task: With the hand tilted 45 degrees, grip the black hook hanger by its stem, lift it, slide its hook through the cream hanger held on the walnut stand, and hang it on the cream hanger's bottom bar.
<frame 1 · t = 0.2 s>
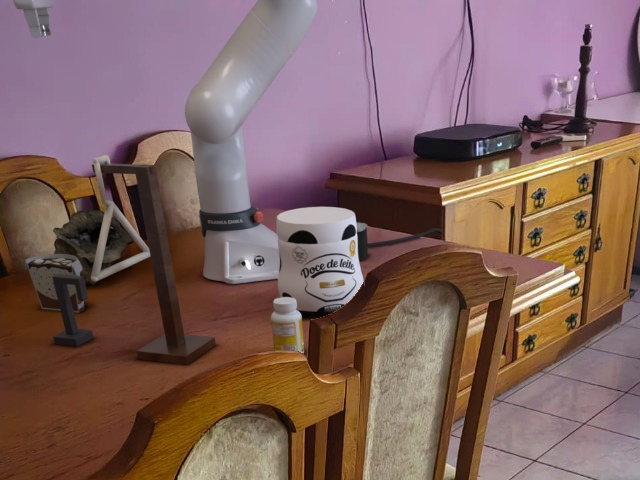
hand: (42, 36, 163), 48 cm above the table, tool pointing down, fingers open, 8 cm apart
milk container: (322, 308, 171), on the table
supplement bottle: (289, 354, 149), on the table
black hanger: (74, 341, 157), on the table
hollow geode rock: (100, 274, 196), on the table
food container: (70, 307, 175), on the table
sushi: (351, 258, 203), on the table
hanger stand: (139, 348, 153), on the table
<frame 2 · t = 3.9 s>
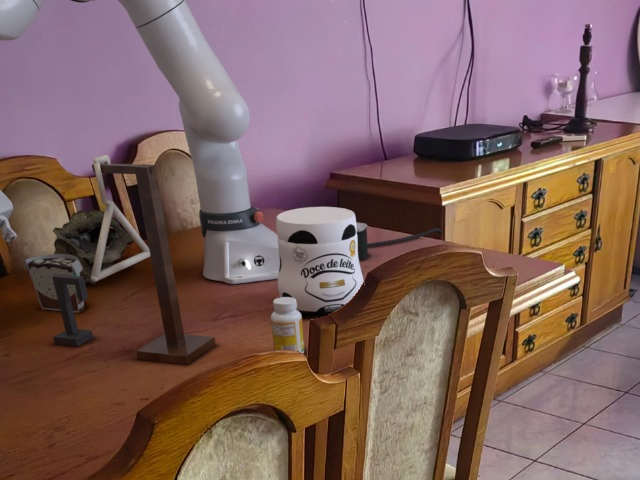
nothing on the table moved.
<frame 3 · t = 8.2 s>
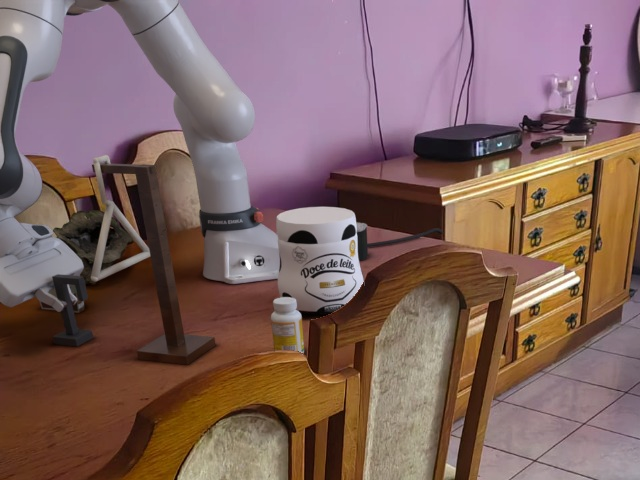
hand: (68, 306, 154), 7 cm above the table, tool tilted 45°, fingers closed on black hanger
black hanger: (74, 341, 157), on the table, touching gripper
everything else where it was.
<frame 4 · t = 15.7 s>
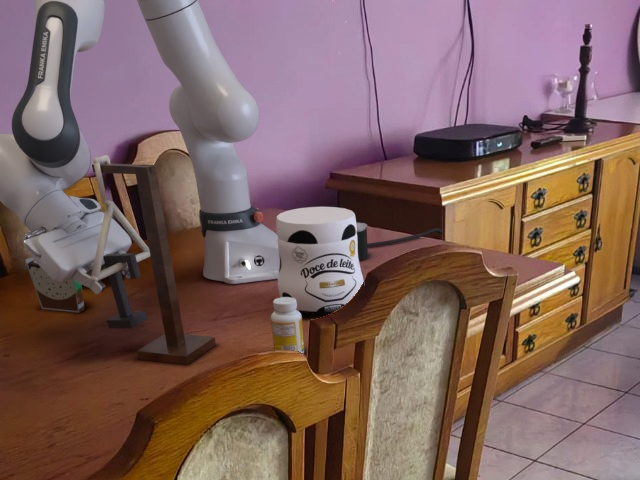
hand: (117, 283, 147), 12 cm above the table, tool tilted 45°, fingers open, 8 cm apart
black hanger: (128, 323, 151), point 4 cm above the table, touching hanger stand
everything else where it was.
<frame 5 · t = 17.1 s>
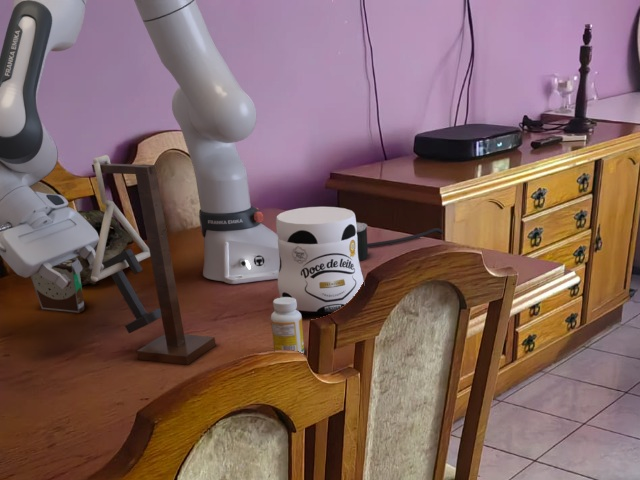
hand: (84, 278, 149), 12 cm above the table, tool tilted 45°, fingers open, 8 cm apart
black hanger: (146, 324, 150), point 5 cm above the table, tilted 25°, touching hanger stand
everything else where it was.
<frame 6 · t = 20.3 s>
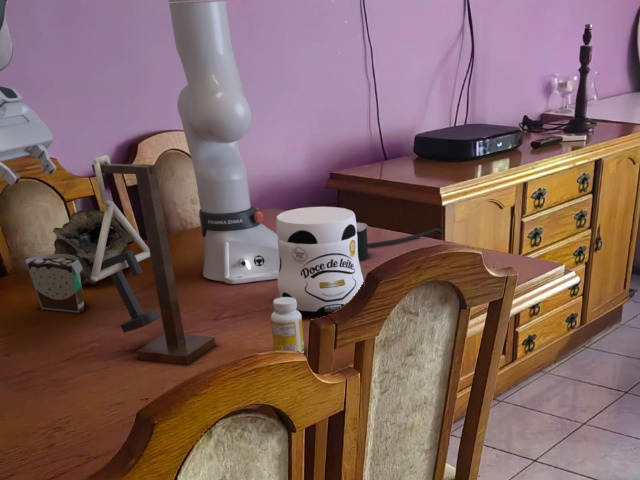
hand: (34, 176, 144), 28 cm above the table, tool tilted 40°, fingers open, 8 cm apart
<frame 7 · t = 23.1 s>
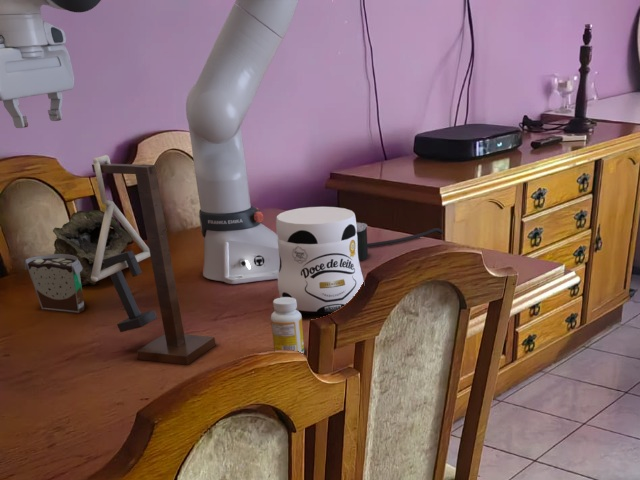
hand: (39, 124, 151), 35 cm above the table, tool pointing down, fingers open, 8 cm apart
nothing on the table moved.
at the end: black hanger inside the target area on the hanger stand (2.4 cm from its centre), point 4.7 cm above the hanger stand's base; black hanger touching hanger stand; the gripper is holding nothing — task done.
